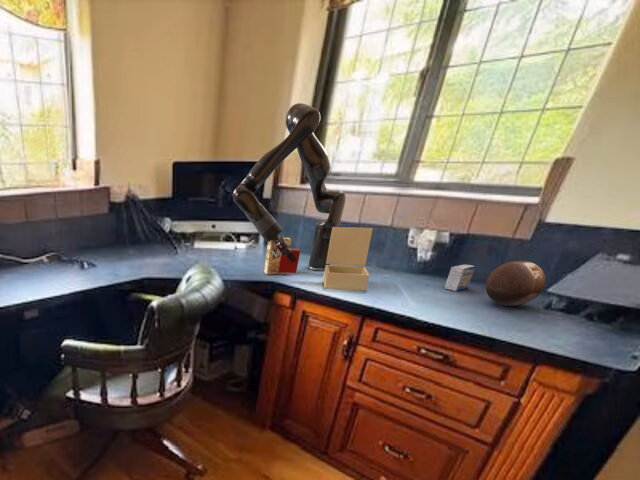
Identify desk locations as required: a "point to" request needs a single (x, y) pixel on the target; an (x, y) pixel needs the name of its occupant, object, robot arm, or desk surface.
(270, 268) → the candy box
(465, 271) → the medicine box
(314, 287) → the desk surface
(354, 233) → the chest lid
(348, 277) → the chest
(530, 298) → the brown wooden egg
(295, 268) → the red box
